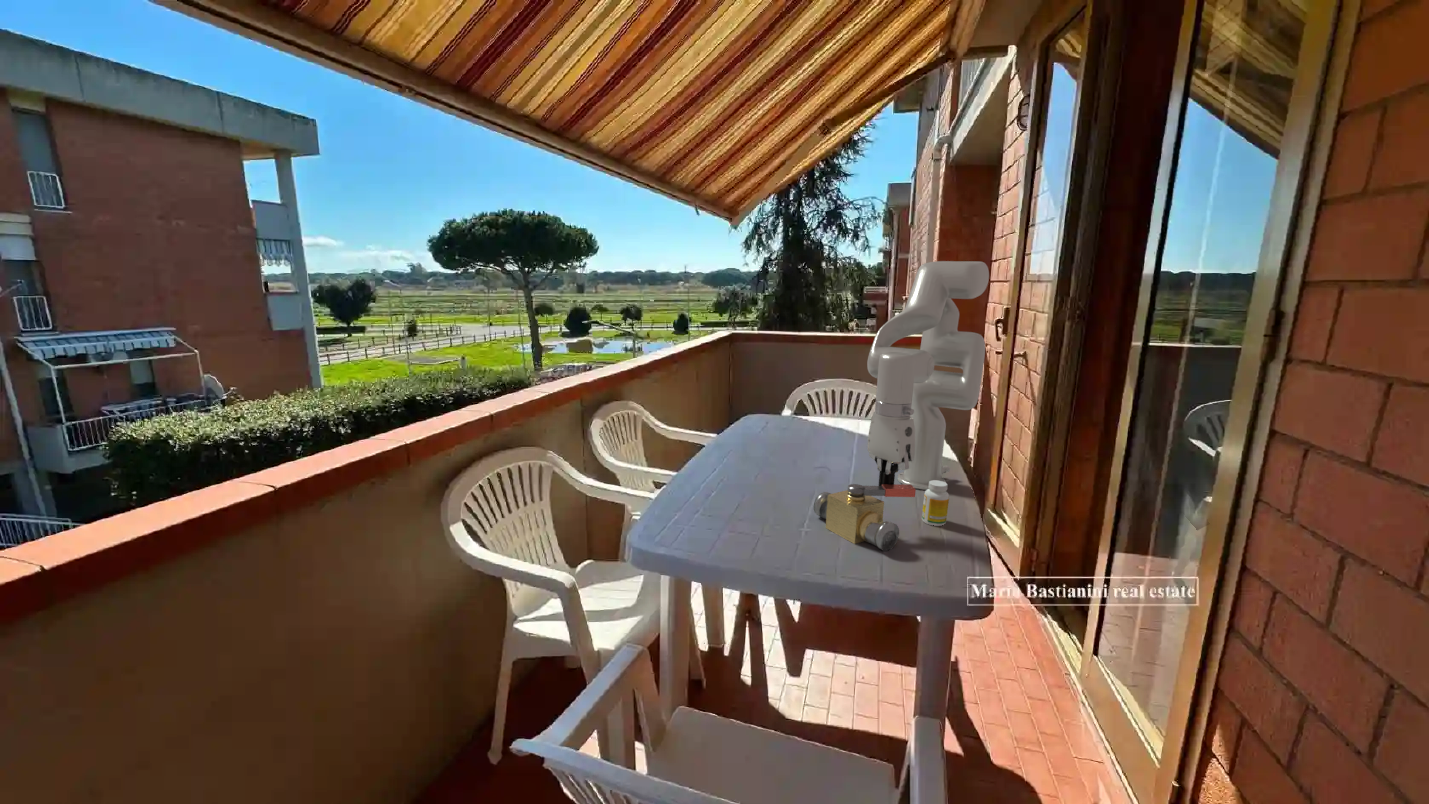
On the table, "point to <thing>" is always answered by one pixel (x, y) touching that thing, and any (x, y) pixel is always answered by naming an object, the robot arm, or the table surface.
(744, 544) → the table surface
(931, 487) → the supplement bottle
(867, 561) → the table surface
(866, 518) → the valve
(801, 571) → the table surface
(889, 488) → the lever
